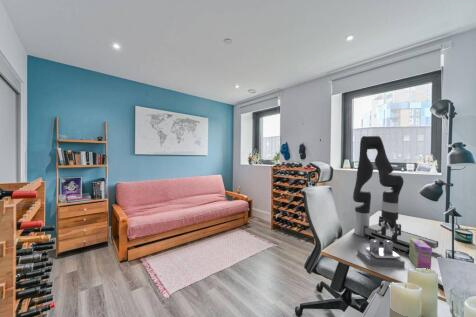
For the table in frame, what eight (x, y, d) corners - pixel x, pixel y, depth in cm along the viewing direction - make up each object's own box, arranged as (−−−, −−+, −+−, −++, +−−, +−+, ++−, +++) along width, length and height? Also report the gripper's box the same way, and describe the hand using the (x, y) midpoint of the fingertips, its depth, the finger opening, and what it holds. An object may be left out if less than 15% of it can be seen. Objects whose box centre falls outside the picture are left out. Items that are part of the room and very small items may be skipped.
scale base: (357, 254, 118) (357, 248, 118) (388, 255, 117) (388, 249, 117) (369, 265, 106) (369, 259, 106) (404, 267, 105) (404, 260, 105)
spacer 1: (368, 249, 114) (368, 239, 114) (375, 249, 114) (376, 239, 114) (372, 253, 110) (373, 242, 110) (380, 253, 110) (381, 242, 110)
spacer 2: (381, 249, 114) (381, 239, 114) (389, 250, 114) (389, 239, 114) (386, 253, 110) (387, 243, 109) (394, 254, 109) (395, 243, 109)
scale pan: (365, 249, 117) (366, 247, 117) (388, 250, 116) (388, 248, 116) (375, 257, 108) (375, 255, 108) (400, 258, 107) (400, 256, 107)
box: (431, 270, 103) (432, 247, 103) (417, 267, 105) (418, 245, 105) (421, 260, 113) (422, 239, 112) (408, 258, 115) (409, 238, 114)
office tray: (422, 260, 113) (422, 246, 112) (364, 238, 141) (365, 227, 141) (437, 252, 122) (438, 239, 122) (380, 233, 151) (381, 223, 150)
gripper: (374, 206, 118) (373, 232, 119) (392, 213, 104) (390, 243, 105) (387, 206, 118) (386, 233, 118) (407, 214, 103) (405, 244, 104)
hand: (388, 238), depth 111 cm, fingers open, 8 cm apart
